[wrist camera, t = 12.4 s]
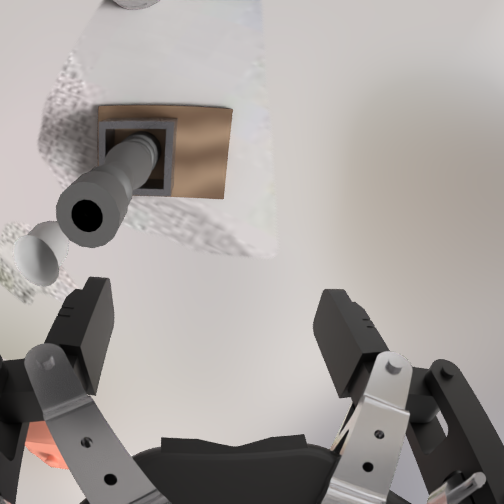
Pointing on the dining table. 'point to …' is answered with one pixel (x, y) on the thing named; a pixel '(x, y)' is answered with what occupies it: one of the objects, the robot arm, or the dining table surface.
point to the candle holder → (107, 191)
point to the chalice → (41, 253)
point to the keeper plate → (185, 145)
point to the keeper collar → (170, 124)
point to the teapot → (44, 445)
